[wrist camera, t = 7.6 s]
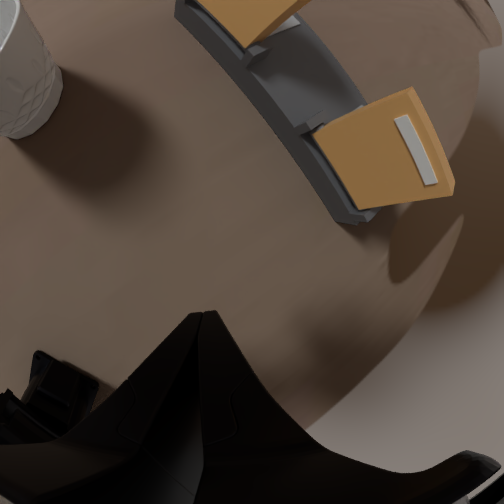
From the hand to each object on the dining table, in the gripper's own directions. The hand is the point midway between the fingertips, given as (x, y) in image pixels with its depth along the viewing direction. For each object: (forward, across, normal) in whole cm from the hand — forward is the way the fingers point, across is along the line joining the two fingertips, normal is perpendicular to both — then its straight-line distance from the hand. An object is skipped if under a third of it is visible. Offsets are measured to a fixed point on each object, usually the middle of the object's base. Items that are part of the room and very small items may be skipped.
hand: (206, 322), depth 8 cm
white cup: (+11, +14, -13) cm, 22 cm away
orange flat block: (+10, -8, -3) cm, 14 cm away
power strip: (+15, -4, -13) cm, 21 cm away
